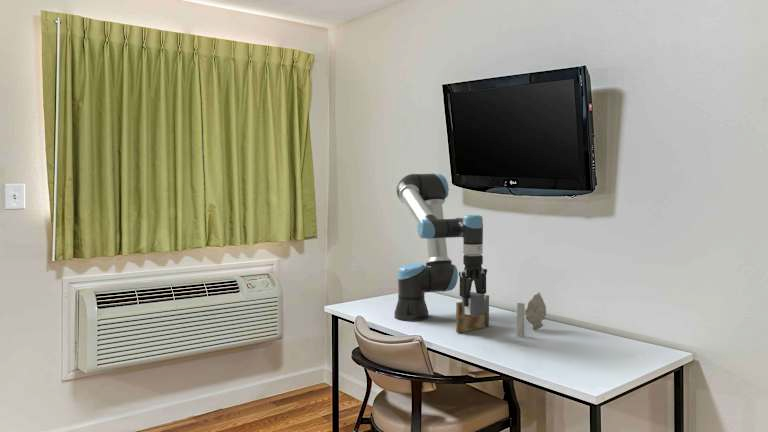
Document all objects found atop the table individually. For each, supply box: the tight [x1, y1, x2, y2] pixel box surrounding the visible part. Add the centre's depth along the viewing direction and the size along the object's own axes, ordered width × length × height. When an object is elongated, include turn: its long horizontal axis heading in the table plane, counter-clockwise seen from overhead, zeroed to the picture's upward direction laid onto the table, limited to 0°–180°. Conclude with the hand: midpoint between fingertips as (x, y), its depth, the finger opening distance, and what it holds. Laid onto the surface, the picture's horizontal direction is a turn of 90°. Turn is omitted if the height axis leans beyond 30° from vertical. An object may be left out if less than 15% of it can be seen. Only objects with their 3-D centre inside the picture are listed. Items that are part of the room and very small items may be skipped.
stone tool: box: [524, 292, 547, 331], centre depth 239 cm, size 11×4×15 cm, turn 119°
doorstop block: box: [461, 291, 484, 317], centre depth 233 cm, size 7×5×8 cm
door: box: [455, 298, 486, 334], centre depth 240 cm, size 15×2×12 cm, turn 126°
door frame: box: [484, 294, 526, 338], centre depth 240 cm, size 26×2×13 cm, turn 37°
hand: (473, 313), depth 233 cm, fingers closed on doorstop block, 5 cm apart
